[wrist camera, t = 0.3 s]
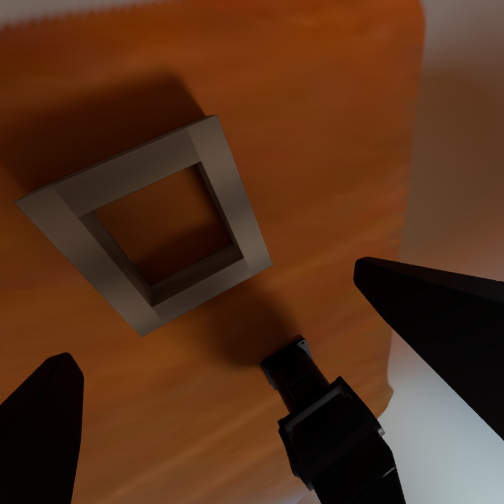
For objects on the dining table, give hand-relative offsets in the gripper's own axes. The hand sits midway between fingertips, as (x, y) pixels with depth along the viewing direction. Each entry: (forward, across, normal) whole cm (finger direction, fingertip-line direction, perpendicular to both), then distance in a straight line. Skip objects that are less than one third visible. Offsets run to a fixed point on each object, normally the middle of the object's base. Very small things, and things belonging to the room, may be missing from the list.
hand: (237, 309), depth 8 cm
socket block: (+14, +1, +2) cm, 14 cm away
